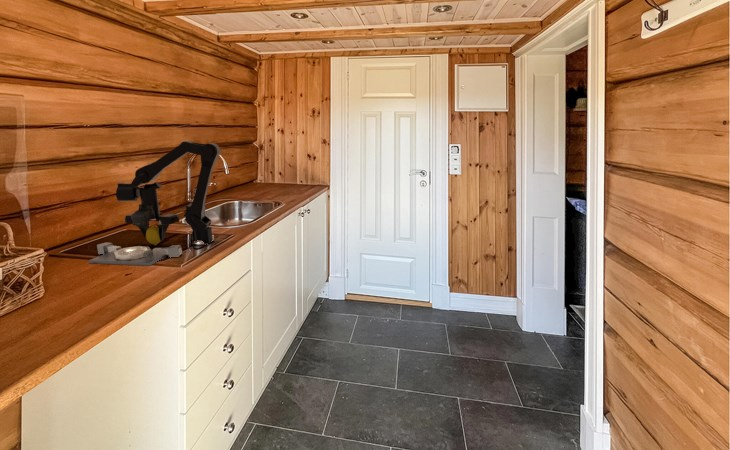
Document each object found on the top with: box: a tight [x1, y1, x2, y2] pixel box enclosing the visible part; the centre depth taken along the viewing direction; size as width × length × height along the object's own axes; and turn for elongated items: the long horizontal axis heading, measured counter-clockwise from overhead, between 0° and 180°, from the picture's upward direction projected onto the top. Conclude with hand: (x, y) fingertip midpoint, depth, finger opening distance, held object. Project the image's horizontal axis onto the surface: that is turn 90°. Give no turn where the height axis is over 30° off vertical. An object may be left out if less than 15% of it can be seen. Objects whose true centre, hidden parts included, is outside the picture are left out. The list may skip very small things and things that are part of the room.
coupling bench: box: [88, 242, 183, 267], centre depth 140 cm, size 31×14×4 cm, turn 82°
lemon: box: [145, 225, 162, 246], centre depth 155 cm, size 6×6×8 cm
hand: (154, 240), depth 155 cm, fingers closed on lemon, 5 cm apart
